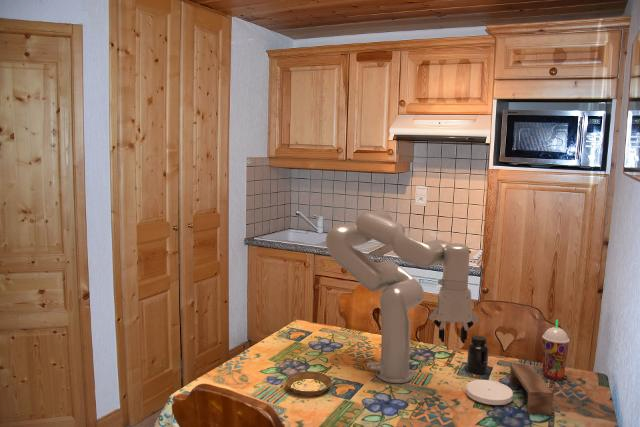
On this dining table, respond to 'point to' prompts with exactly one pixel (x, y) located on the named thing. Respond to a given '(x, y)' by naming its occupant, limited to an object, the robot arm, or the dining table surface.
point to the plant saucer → (309, 375)
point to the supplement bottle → (477, 355)
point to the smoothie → (555, 352)
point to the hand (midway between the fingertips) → (452, 340)
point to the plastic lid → (489, 392)
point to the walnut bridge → (532, 388)
